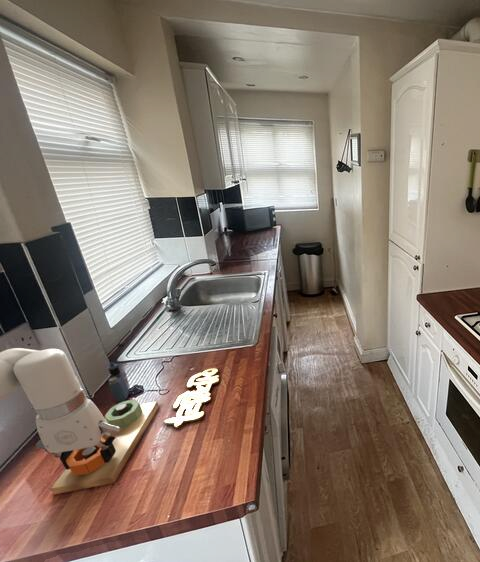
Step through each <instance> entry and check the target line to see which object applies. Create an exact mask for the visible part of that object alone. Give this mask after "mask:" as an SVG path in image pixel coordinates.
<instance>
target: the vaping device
mask: <svg viewBox="0 0 480 562" xmlns="http://www.w3.org/2000/svg"><path fill="white" fill-rule="evenodd" d="M107 371H108V372H109V374H110V376H111V377H110V378H109V379H108V385H109V386H108V387H109V390H110V391H111V394H112V396H113V398H114V400H115V402H116V403H117V404H119V403H121V402H124V401H127V398H128V396H129V395H130V390H129V388H128V385H127V383H126V380H125V378H124V376H123V374H122V372H121V370H120V367H119V364H117V363H114V362H110V363H109V364H108V366H107Z"/></svg>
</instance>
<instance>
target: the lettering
mask: <svg viewBox="0 0 480 562" xmlns="http://www.w3.org/2000/svg"><path fill="white" fill-rule="evenodd" d="M218 374H219V370H218V368H216V367H209V368H206V369H205V370H203V372H198V373H196V374H194V375H192V376H191V377H190V378H189V380H188V382H187V384H186V387H187V389H188V390H187V391H186V392H184V393H182V394H180V395H179V396H178V397H177V399H176V400H175V402H174V404H173V408H174V410H175V411H176V410H177V412H176V417H171V418H168V419H165V420H164V423H165V425H168V426H174V428H175V429H179V428H181V427H182V426H183V425H184V424H186V423H192V422H197V421H200V420H202V419H203V418H204V417H205V416H204V415H205V413H204V411H201V409H202V407H203V405H205V404H208V403H210V402H211V401H212V399H211V397H212V395H211V393H210V392H211V390H212V387H213V386H215V385H217V384H218V383H220V377H219V375H218ZM194 387H195V388H196V390H192V391H190V390H189V389H193V388H194Z"/></svg>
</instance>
